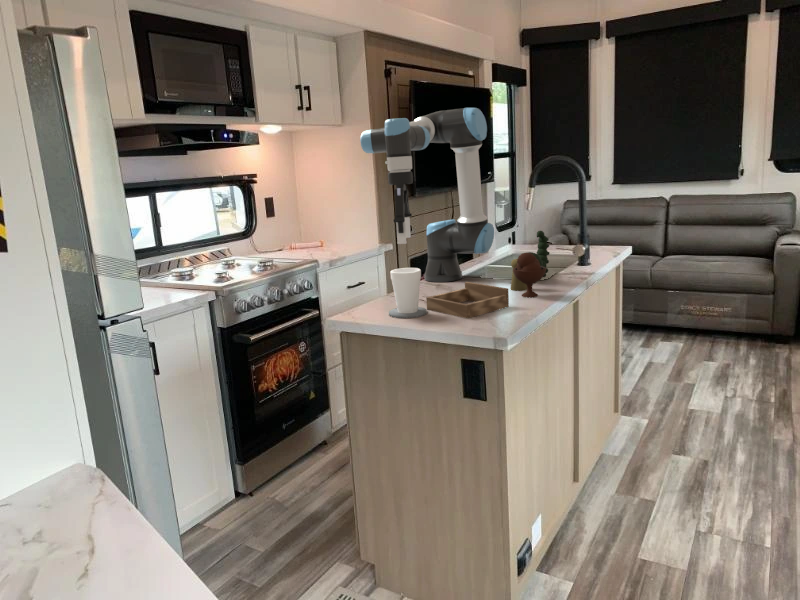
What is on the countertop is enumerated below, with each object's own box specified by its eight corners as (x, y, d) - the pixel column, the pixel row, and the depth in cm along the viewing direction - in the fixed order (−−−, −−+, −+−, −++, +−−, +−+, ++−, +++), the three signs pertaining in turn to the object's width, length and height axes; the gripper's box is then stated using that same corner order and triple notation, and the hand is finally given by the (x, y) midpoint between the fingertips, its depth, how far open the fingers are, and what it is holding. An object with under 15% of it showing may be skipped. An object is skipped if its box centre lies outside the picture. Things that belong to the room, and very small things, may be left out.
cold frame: (467, 299, 211) (467, 281, 209) (508, 306, 196) (508, 288, 195) (426, 309, 200) (426, 291, 198) (467, 318, 185) (466, 298, 184)
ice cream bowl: (547, 299, 204) (546, 254, 201) (512, 299, 206) (511, 255, 203) (546, 292, 214) (545, 249, 211) (513, 292, 216) (512, 250, 213)
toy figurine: (532, 277, 251) (510, 283, 229) (533, 230, 248) (510, 232, 227) (555, 278, 246) (534, 284, 224) (556, 230, 243) (535, 232, 222)
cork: (507, 289, 223) (506, 258, 221) (521, 286, 225) (520, 257, 223) (516, 291, 218) (516, 260, 215) (531, 289, 220) (530, 258, 217)
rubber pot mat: (410, 307, 204) (410, 304, 204) (434, 312, 195) (434, 310, 195) (381, 314, 197) (381, 311, 197) (404, 320, 188) (404, 317, 188)
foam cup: (428, 310, 194) (426, 270, 192) (404, 316, 189) (401, 274, 187) (411, 306, 202) (408, 266, 199) (387, 311, 197) (384, 270, 194)
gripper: (392, 170, 201) (397, 235, 206) (382, 173, 177) (387, 247, 182) (415, 169, 200) (419, 234, 205) (408, 171, 176) (412, 245, 181)
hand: (404, 240), depth 193 cm, fingers open, 13 cm apart
